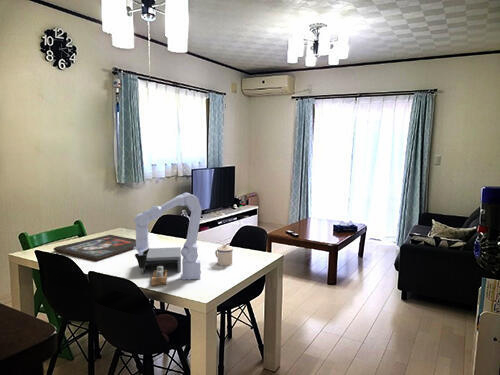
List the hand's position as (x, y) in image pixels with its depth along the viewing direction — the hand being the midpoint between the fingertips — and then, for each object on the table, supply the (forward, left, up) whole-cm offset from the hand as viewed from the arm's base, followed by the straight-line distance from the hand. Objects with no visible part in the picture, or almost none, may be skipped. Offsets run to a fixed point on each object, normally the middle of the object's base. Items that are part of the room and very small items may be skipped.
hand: (142, 265), depth 179 cm
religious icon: (+32, -69, -10) cm, 77 cm away
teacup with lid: (-43, -27, -10) cm, 52 cm away
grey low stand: (-8, -24, -10) cm, 27 cm away
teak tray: (-8, -5, -10) cm, 14 cm away
